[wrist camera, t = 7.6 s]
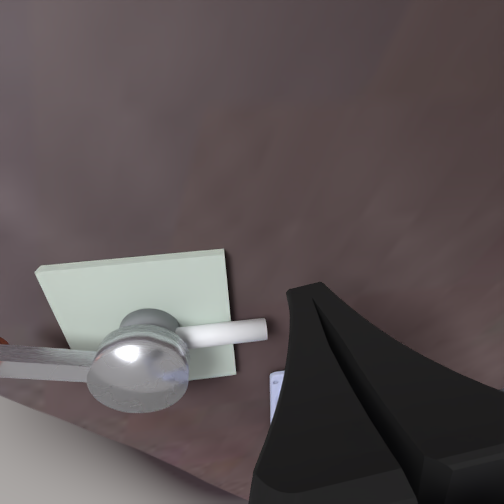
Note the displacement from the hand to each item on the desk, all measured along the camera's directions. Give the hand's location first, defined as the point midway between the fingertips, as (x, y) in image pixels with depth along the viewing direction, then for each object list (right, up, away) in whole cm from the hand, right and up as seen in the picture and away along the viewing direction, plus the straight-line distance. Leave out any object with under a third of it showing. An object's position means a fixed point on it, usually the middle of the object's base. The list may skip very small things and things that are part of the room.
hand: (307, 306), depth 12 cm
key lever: (-13, -5, +9) cm, 16 cm away
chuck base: (-8, -3, +12) cm, 15 cm away
